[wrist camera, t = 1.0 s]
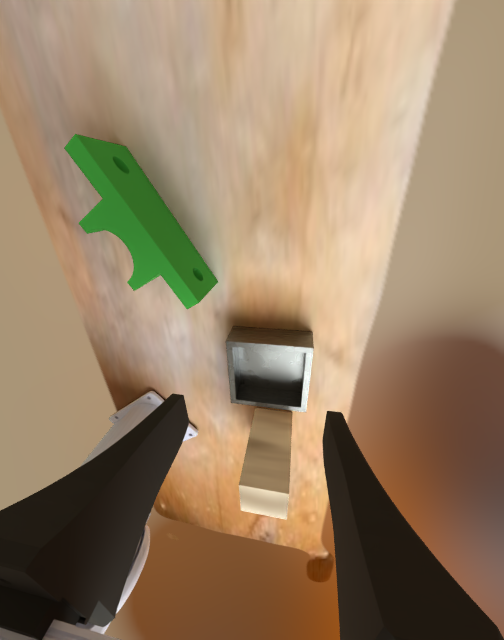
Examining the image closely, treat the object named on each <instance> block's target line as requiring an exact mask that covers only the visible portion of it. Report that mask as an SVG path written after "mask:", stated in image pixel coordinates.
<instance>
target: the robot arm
mask: <svg viewBox="0 0 504 640" xmlns="http://www.w3.org/2000/svg"><path fill="white" fill-rule="evenodd" d="M109 420H110V421H111V422H112V423H114V425H113V426H112V427H111V429H110V430H109V431H108V432H107V433H106V435H105V436H104V437H103V438H102V440H101V441H100V442H99V443H98V445H97V446H96V447H95V448H94V450H93V451H92V452H91V453H90V455H89V456H88V457H87V459H86V460H85V461H84V462H83V464H82V465H81V466H80V467H79V468H78V469H76V470H74V471H73V472H71V473H70V474H68V475H66V476H65V477H63V478H62V479H60V480H58V481H56V482H54V483H53V484H51V485H49V486H47V487H46V488H44V489H42V490H40V491H38V492H37V493H34V494H33V495H31V496H29V497H27V498H25V499H23V500H21V501H19V502H17V503H15V504H13V505H11V506H9V507H7V508H5V509H3V510H1V511H0V640H121V639H117V638H114V637H110V636H107V635H104V633H105V631H106V629H107V628H108V626H109V624H110V623H111V621H112V620H113V619H114V618H115V615H116V613H117V612H118V611H119V610H120V608H121V607H122V606H123V604H124V603H125V601H126V599H127V598H128V596H129V595H130V593H131V591H132V589H133V588H134V585H135V584H136V582H137V580H138V578H139V575H140V573H141V571H142V569H143V566H144V563H145V561H146V558H147V554H148V551H149V546H150V529H149V527H148V526H147V525H146V523H147V521H148V519H149V517H150V515H151V514H150V512H151V509H152V507H153V504H154V501H155V499H156V496H157V494H158V492H159V490H160V487H161V485H162V483H163V481H164V479H165V477H166V475H167V473H168V471H169V469H170V467H171V465H172V463H173V461H174V459H175V457H176V455H177V453H178V451H179V449H180V446H181V444H182V442H183V441H186V440H188V439H190V438H192V437H195V436H197V434H198V430H197V429H196V428H194V427H193V426H192V425H191V424H190V423H189V418H188V414H187V409H186V405H185V400H184V395H179V394H172V395H171V396H170V397H168V398H167V399H166V400H165V401H164V400H163V399H162V398H161V397H160V396H159V395H158V394H157V393H156V392H154V391H149V392H148V393H146V394H145V395H143V396H141V397H140V398H138V399H137V400H135V401H133V402H132V403H130V404H129V405H127V406H126V407H124V408H122V409H121V410H119V411H118V412H116V413H115V414H113V415H111V417H110V418H109ZM323 458H324V468H325V475H326V481H327V488H328V494H329V501H330V507H331V514H332V521H333V530H334V543H335V557H336V572H337V586H338V587H337V588H338V604H339V622H340V640H504V639H503V637H502V635H501V633H500V631H499V629H498V627H497V626H496V625H495V624H494V623H493V622H492V620H491V619H490V618H489V617H488V616H487V615H486V614H485V613H484V612H483V611H482V610H481V609H480V607H478V605H477V604H476V603H475V602H474V601H473V600H472V599H471V598H470V596H469V595H468V594H467V593H466V592H465V591H464V590H463V589H462V587H461V586H460V585H459V584H458V583H457V582H456V581H455V580H454V578H453V577H452V576H451V575H450V574H449V573H448V571H447V570H446V569H445V568H444V567H443V566H442V564H441V563H440V562H439V561H438V560H437V559H436V557H435V556H434V555H433V554H432V552H431V551H430V550H429V549H428V547H427V546H426V545H425V544H424V542H423V541H422V540H421V539H420V537H419V536H418V535H417V534H416V532H415V531H414V530H413V529H412V527H411V526H410V525H409V523H408V522H407V521H406V519H405V518H404V517H403V516H402V514H401V513H400V511H399V510H398V509H397V507H396V506H395V504H394V503H393V502H392V500H391V499H390V497H389V496H388V495H387V493H386V492H385V490H384V488H383V487H382V485H381V484H380V482H379V481H378V479H377V478H376V476H375V474H374V473H373V471H372V470H371V468H370V466H369V465H368V463H367V461H366V459H365V458H364V456H363V454H362V452H361V451H360V449H359V447H358V445H357V443H356V442H355V440H354V438H353V436H352V434H351V432H350V430H349V427H348V425H347V423H346V421H345V419H344V416H343V414H342V413H341V412H332V411H327V415H326V421H325V428H324V434H323Z"/></svg>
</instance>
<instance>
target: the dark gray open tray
mask: <svg viewBox="0 0 504 640" xmlns="http://www.w3.org/2000/svg"><path fill="white" fill-rule="evenodd" d="M226 349H227V360H228V372H229V384H230V396H231V403H236V404H244V405H252V406H260V407H268V408H276V409H284V410H292V411H300V412H306V408H307V400H308V392H309V383H310V375H311V366H312V358H313V349H314V346H313V334H312V332H308V331H294V330H280V329H266V328H252V327H238V326H233V328H232V330H231V332H230V334H229V336H228V338H227V340H226Z"/></svg>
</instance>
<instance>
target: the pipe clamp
mask: <svg viewBox="0 0 504 640" xmlns="http://www.w3.org/2000/svg"><path fill="white" fill-rule="evenodd" d="M65 150H66V151H67V152H68V154H69V155H70V156H71V158H72V159H73V160H74V162H75V163H76V164H77V165H78V167H79V168H80V169H81V171H82V172H83V173H84V175H85V176H86V177H87V179H88V180H89V181H90V183H91V184H92V185H93V187H94V188H95V189H96V190H97V192H98V193H99V194H100V196H101V197H102V198H103V199H102V200H101V201H100V202H99V203H98V204H97V205H96V206H95V207H94V208H93V209H92V210H91V211H90V212H89V213H88V214H87V215H86V216H85V217H84V218H83V219H82V220H81V221H80V222H79V224H80V225H81V227H82V228H83V229H84V230H85V232H86V233H87V234H88V233H93V232H98V231H103V230H106V231H109V232H111V233H113V234H115V235H116V236H118V237H119V238H120V239H121V240H122V241H123V242H124V243H125V245H126V246H127V247H128V249H129V251H130V253H131V255H132V258H133V263H134V271H133V275H132V277H131V278H130V280H129V281H128V282H127V283H128V284H129V285H130V286H131V288H132V289H133V290H134V291H135V290H137V289H138V288H140V287H142V286H143V285H145V284H147V283H148V282H150V281H152V280H153V279H155V278H157V277H158V276H160V275H161V276H162V277H163V278H164V280H165V281H166V282H167V284H168V285H169V286H170V288H171V289H172V290H173V292H174V293H175V294H176V296H177V297H178V298H179V299H180V301H181V302H182V303H183V305H184V306H185V307H186V309H189V308H191V307H192V306H194V305H196V304H197V303H199V302H200V301H201V300H202V299H203V298H204V297H205V296H206V294H207V293H208V292H209V291H210V290H211V289H212V288H213V287H214V286H215V285H216V283H217V282H218V281H217V279H216V278H215V276H214V275H213V274H212V272H211V271H210V269H209V268H208V266H207V265H206V263H205V262H204V260H203V259H202V257H201V256H200V254H199V253H198V251H197V250H196V249H195V247H194V246H193V244H192V243H191V241H190V240H189V238H188V237H187V235H186V234H185V232H184V231H183V229H182V228H181V227H180V225H179V224H178V222H177V221H176V219H175V218H174V216H173V215H172V213H171V212H170V210H169V209H168V207H167V206H166V205H165V203H164V202H163V200H162V199H161V197H160V196H159V194H158V193H157V191H156V190H155V188H154V187H153V185H152V184H151V183H150V181H149V180H148V178H147V177H146V175H145V174H144V172H143V171H142V169H141V168H140V166H139V165H138V163H137V162H136V160H135V159H134V158H133V156H132V155H131V153H130V152H129V150H128V149H127V147H126V146H122V145H118V144H114V143H110V142H106V141H101V140H97V139H93V138H89V137H85V136H81V135H77V134H75V135H74V136H73V137H72V139H71V140H70V141H69V143H68V144H67V145H66V146H65Z"/></svg>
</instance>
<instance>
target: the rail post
mask: <svg viewBox="0 0 504 640" xmlns="http://www.w3.org/2000/svg"><path fill="white" fill-rule="evenodd" d="M291 434H292V412H286V411H278V410H270V409H262V408H255V412H254V416H253V421H252V426H251V430H250V435H249V440H248V445H247V449H246V454H245V459H244V463H243V468H242V473H241V477H240V482H239V492H240V504H241V511H246V512H251V513H256V514H261V515H266V516H271V517H276V518H281V519H286V520H287V511H288V500H289V482H290V458H291Z"/></svg>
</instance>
